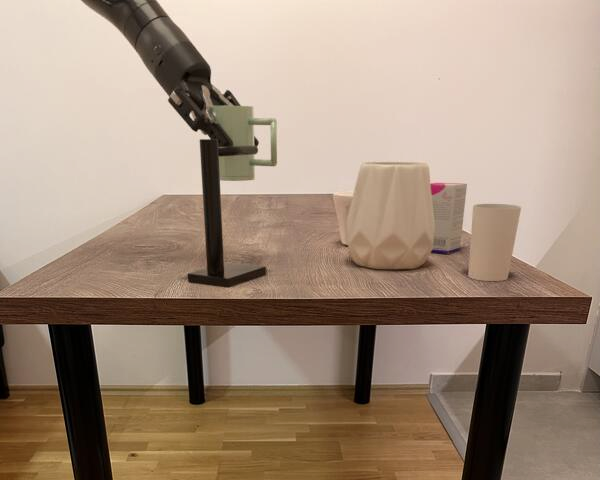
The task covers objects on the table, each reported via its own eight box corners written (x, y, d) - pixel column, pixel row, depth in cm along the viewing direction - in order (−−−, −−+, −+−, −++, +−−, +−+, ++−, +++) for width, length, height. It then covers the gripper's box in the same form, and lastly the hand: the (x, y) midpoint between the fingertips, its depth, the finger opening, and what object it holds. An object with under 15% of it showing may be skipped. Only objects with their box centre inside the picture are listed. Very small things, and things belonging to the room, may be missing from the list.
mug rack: (228, 287, 88) (222, 139, 80) (188, 282, 91) (177, 139, 83) (278, 270, 99) (276, 138, 91) (240, 266, 102) (235, 138, 94)
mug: (204, 179, 97) (200, 105, 93) (228, 177, 102) (225, 107, 98) (265, 182, 92) (264, 105, 88) (287, 180, 97) (287, 106, 93)
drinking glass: (467, 280, 92) (475, 208, 88) (463, 271, 98) (470, 203, 94) (514, 282, 91) (525, 209, 87) (507, 273, 97) (517, 204, 93)
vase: (326, 262, 104) (329, 162, 98) (384, 253, 113) (390, 160, 106) (392, 276, 95) (399, 166, 88) (449, 264, 103) (460, 163, 97)
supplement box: (460, 250, 116) (468, 182, 111) (448, 254, 111) (455, 184, 106) (431, 247, 119) (437, 181, 114) (418, 251, 114) (423, 183, 109)
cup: (359, 251, 114) (362, 196, 110) (321, 244, 121) (321, 192, 117) (395, 245, 120) (399, 193, 116) (356, 239, 127) (358, 189, 123)
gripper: (190, 84, 103) (253, 165, 104) (129, 78, 92) (200, 169, 92) (215, 44, 99) (281, 129, 99) (154, 33, 87) (228, 129, 88)
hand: (241, 148), depth 96 cm, fingers closed on mug, 6 cm apart
